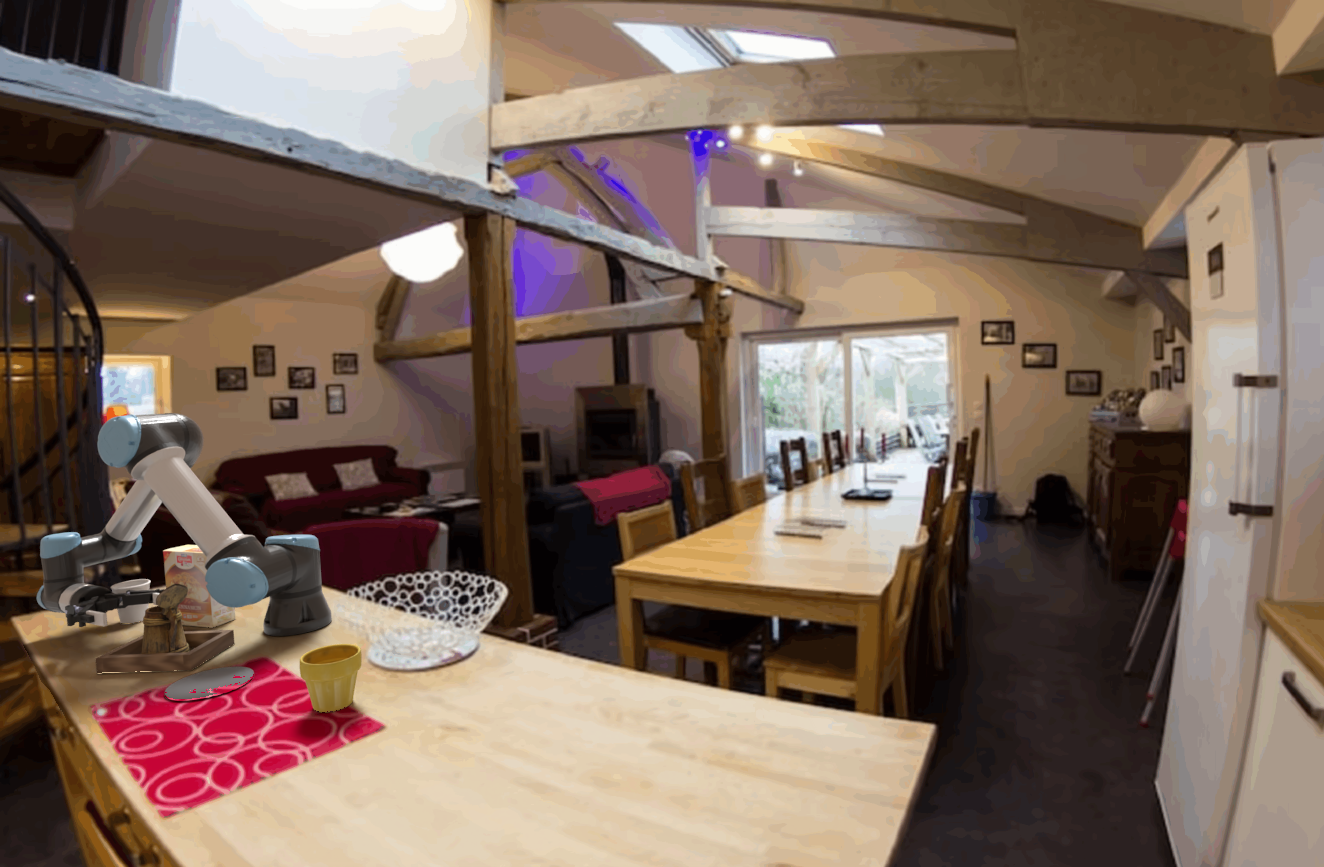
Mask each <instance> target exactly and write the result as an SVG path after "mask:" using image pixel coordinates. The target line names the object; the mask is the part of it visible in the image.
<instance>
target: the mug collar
mask: <svg viewBox="0 0 1324 867" xmlns="http://www.w3.org/2000/svg"><path fill="white" fill-rule="evenodd" d="M184 635H185V639H186V643H188V645H189V649H191V650H189V652H183V653H156V654H141V653H142V643H143V634H142V635H141V636H139V637H136V638H134V639H132V640H130V641H128V642H126V643H123V644H121V645H120V646H118V647H116V648H113V649H112V650H110V651H107V652H105V653H103V654H101V655H99V656H97V657H95V658H94V659H95V670H96V674H97V673H102V672H135V671H137V672H140V671H173V672H175V671H174V670H177V671H176V672H179V671H178V670H192V669H193V668H195V667H197V666H198V667H200V666H201V665H200V664H202V663H203V662H205V661H206V660H208V659H210V658H211V659H213V658H214V657H213V656H215V655H216V656H218V655H219V654H218V653H220V652H221V653H223V652H224V651H226V650H227V648H228V649H229V648H230V647H229V646H231V645H233V644H234V645H235V644H236V643H235V634H234V629H219V630H218V629H217V630H215V629H214V630H213V629H212V630H192V631H191V630H189V631H184ZM234 645H233V646H234ZM231 647H232V646H231ZM225 649H226V650H225ZM222 651H223V652H222ZM221 653H220V654H221ZM217 654H218V655H217ZM216 656H215V657H216ZM212 657H213V658H212ZM211 659H210V660H211ZM208 661H209V660H208ZM206 662H207V661H206ZM206 662H205V663H206ZM203 664H204V663H203ZM203 664H202V665H203ZM199 665H200V666H199ZM198 667H197V668H198ZM195 669H196V668H195ZM193 670H194V669H193ZM193 670H192V671H193Z"/></svg>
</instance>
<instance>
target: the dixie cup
mask: <svg viewBox="0 0 1324 867" xmlns="http://www.w3.org/2000/svg"><path fill="white" fill-rule="evenodd" d="M150 585H151V580H150V579H148V578H147V579H146V578H139V579H131V580H126V581H122V582H118V583H115V584H113V585H111V586H110V589H111V590H112V591H111V592H112V593H115V594H118V593H126V591H128V590H135V591H139V590H150V588H151V587H150ZM120 605H123V604H122V602H121V604H120ZM148 608H149V604H140V605H130V606H127V607H126V608H121V609H116V611H117V614H118V617H119V622H120V624H121V623H133V624H135V623H134V622H138V623H140V622H139V621H141V622H143V617H144V616H145V611H146V610H147V609H148Z"/></svg>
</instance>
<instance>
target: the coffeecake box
mask: <svg viewBox="0 0 1324 867" xmlns="http://www.w3.org/2000/svg"><path fill="white" fill-rule="evenodd" d="M162 554H163V563H164V564H163V566H164V577H165V586H166V588H168V587H170V586H171V585H173V584H181V585H184V586H186V587H187V588H188V592H187V596H186V598H185V599H184V601H182V602H181V603H180V604H179V605H178V609H179V610H180V612H181V614H182V619H181V622H182V626H187V627H189V626H190V627H201V628H208V627H209V628H211V629H214V628H216V626H217V627H220V626H221V625H224V624H226V623H230V622H231V621H234V620H236V619H237V618H236V610H235V609H236V608H234V607H227V606H224V605H222V604H220V603H218V602H217V601H216V600H214V599H213V598H212V596H211V595H210V594H209V592H208V590H207V588H206V585H207V583H208V582H206V581H205V575H206V572H207V570H206V568H205V562H206V559H207V557H206V556H205V555H204V553H203V552H202V551H201V550H200V548H199V547H198V546H197V545H196V544H185V545H180V546H175V547H170V548H167V549H164V550H162ZM166 588H165V589H166ZM213 627H214V628H213Z"/></svg>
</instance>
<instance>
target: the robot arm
mask: <svg viewBox="0 0 1324 867" xmlns="http://www.w3.org/2000/svg"><path fill="white" fill-rule="evenodd" d="M204 439H205V438H204V435H203V431H202V429H201V426H199V424H198V423H197V422H196V421H195V420H193V419H192V418H191V417H188V416H187V415H185V414H182V413H175V412H165V413H154V414H153V413H151V414H147V413H146V414H131V413H130V414H126V415H119V416H118V415H117V416H114V417H111V418H109V419H108V420H106V421H105V423H103V425H102V426H101V428H100V430H99V432H98V435H97V442H96V443H97V451H98V455H99V456H100V459H101V461H103V462H104V464H106V465H107V466H110V467H113V468H116V469H120V468H124V469H125V471H127V472H128V474H129V476H131V477H132V478H133V479H134V480H136V481H135V482H134V484H133V485H132V487H131V488H130V489H129V491H128V492H127V494H126V496H125V497H124V499H123V500H122V501H121V503H120V505H119V506H118V507H117V508H116V510H115V511H114V513H113V515H112V516H111V518H110V519H109V521H108V522H107V523H106V524H105V527H104V528H103V529H102V531H101V532H99V533H95V534H91V535H87V536H82V537H81V534H80V533H78V532H76V531H75V532H74V531H71V532H69V531H68V532H60V533H53V534H49V535H46V536H44V537H42V538H41V540H40V546H39V549H40V550H39V551H40V554H39V556H40V559H41V560H40V561H41V565H42V566H41V567H42V574H43V581H42V582H43V584H42V585H41V587H39V590H38V592H37V594H36V601H37V603H38V605H39V606H40V607H41V608H43V609H45V610H48V611H49V612H52V613H60V614H65V618H66V622H67V623H66V625H67V627H73V626H74V625H75V624H77V623H78V627H79V628H84V627H86V626H87V624H90V625H95V626H99V627H107V626H108V624H109V623H108V615H107V614H108V612H109V611H114V610H117V609H121V608H126V607H127V606H130V605H140V604H148V605H149V604H150V605H151V604H153V605H155V606H157V605H156V598H157V596H158V595H159V594H160V593H161V592H162V591H163V590H165V589H166V588H163V589H160V588H157V589H149V590H139V591H135V590H128V591H126V593H118V594H115V593H113V591H111V590H110V589H109V588H107V587H104V586H100V585H94V584H89V583H85V578H84V576H85V574H84V571H85V570H84V568H86V567H90V566H94V565H97V564H101V563H106V562H109V561H114V560H118V559H123V558H124V559H125V558H126V557H128V556H130V555H134V554H137V553H138V552H139V551H140V550H141V548H142V543H143V537H142V535H141V533H142V532H143V530H144V528H145V527H146V526H147V524H149V522H150V521H151V519H152V517H153V516H154V515H155V513H156V511H158V509H159V507H160V506H161V505H162V504H163V505H164V506H165V507H166V509H167V510H168V511H169V512H170V514H171V515H172V516H173V517H174V518H175V519H176V521H177V522H178V524H180V527H182V529H184V531H185V532H186V533H187V535H188V536H189V537H190V539H191V540H193V543H195V545H197V546H198V547H199V548H200V550H201V551H202V552H203V553H204V555H205V556H206V557H207V559H206V562H205V568H206V570H207V572H206V575H205V581H206V582H208V583H207V585H206V588H207V590H208V592H209V594H210V595H211V596H212V598H213V599H214V600H216V601H217V602H218V603H220V604H222V605H224V606H227V607H234V608H235V609H236V608H238V609H239V608H243V607H246V606H251V605H254V604H257V603H259V602H261V601H262V600H265V599H267V598H269V601H268V605H267V608H266V613H265V616H264V619H263V624H262V625H263V633H264V634H265V635H267V636H274V637H275V636H276V637H286V636H287V637H288V636H295V635H302V634H305V633H309V632H313V631H316V630H319V629H321V628H325V627H326V626H328V625H329V624H330V623H331V622H332V621H333V620H332V619H333V618H332V611H331V609H330V606H329V604H328V601H327V600H326V597H325V595H324V593H323V586H322V585H323V583H322V572H321V571H322V570H321V556H320V555H321V554H320V552H321V549H320V545H319V538H317V537H316V536H315V535H312V534H283V535H273V536H268V537H267V538H265V542H264V546H263V545H262V543H261V542H260V541H259V540H258V538H257V537H256V536H255V535H253V534H244V533H243V531H242V530H241V529H240V528H239V527H238V525H236V523H235V522H234V521H233V520H232V518H231V517H230V516H229V515H228V513H227V511H225V509H224V508H223V507H222V506H221V504H220V503H219V502H218V500H216V498H214V496H213V494H212V493H211V492H210V491H209V490H208V489H207V487H206V486H205V485H204V483H202V481H201V480H200V479H199V478H198V476H197V475H196V474H195V473H194V471H193V470H192V468H193V466H194V465H195V463H196V462H197V461H198V459H199V458H200V456H201V454H202V451H203V447H204V442H205V441H204ZM121 602H122V604H123V605H120V604H121Z"/></svg>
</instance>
